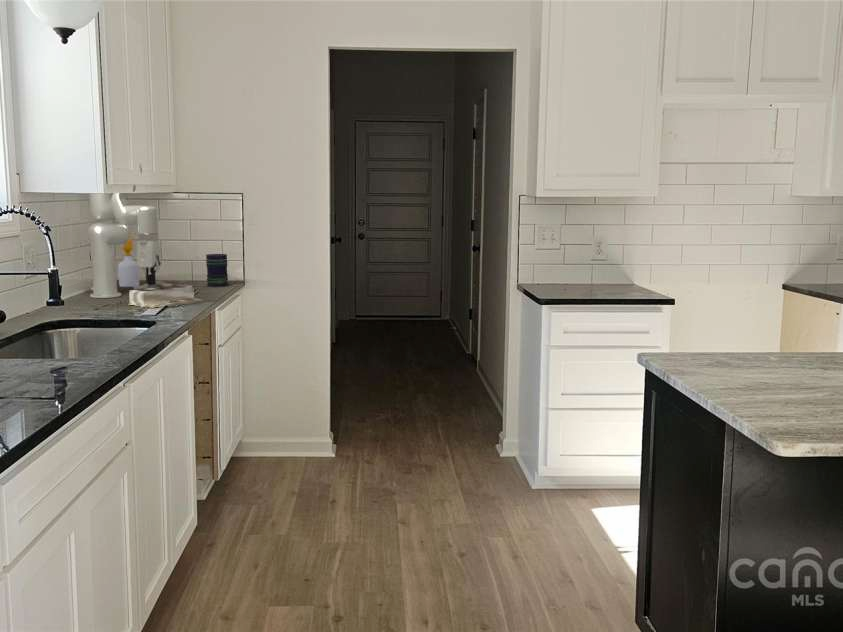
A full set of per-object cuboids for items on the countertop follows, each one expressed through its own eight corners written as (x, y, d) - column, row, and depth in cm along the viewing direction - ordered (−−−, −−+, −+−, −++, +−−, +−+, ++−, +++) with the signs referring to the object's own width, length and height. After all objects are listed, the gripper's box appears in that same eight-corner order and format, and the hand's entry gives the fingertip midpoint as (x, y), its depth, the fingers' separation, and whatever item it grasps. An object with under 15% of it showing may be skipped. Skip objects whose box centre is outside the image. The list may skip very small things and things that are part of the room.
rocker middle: (150, 284, 349) (150, 280, 349) (159, 283, 353) (159, 279, 352) (163, 289, 344) (164, 285, 344) (173, 288, 348) (173, 284, 347)
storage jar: (232, 285, 410) (231, 254, 408) (215, 287, 402) (214, 255, 400) (219, 284, 416) (218, 253, 414) (202, 286, 409) (201, 254, 407)
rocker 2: (167, 285, 356) (166, 282, 356) (176, 284, 359) (175, 281, 359) (180, 283, 350) (180, 280, 350) (189, 282, 354) (188, 279, 353)
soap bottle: (138, 284, 415) (135, 233, 411) (140, 286, 407) (137, 234, 403) (118, 285, 411) (115, 234, 408) (120, 287, 403) (117, 235, 399)
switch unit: (128, 305, 343) (127, 290, 342) (180, 299, 362) (179, 284, 361) (151, 308, 334) (150, 293, 333) (203, 301, 353) (202, 287, 352)
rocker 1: (133, 289, 343) (133, 286, 343) (143, 288, 347) (142, 285, 347) (146, 287, 338) (146, 284, 338) (156, 286, 341) (155, 283, 341)
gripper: (129, 237, 338) (131, 284, 341) (151, 238, 329) (154, 286, 332) (145, 237, 344) (147, 282, 347) (168, 238, 335) (170, 284, 338)
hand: (151, 284), depth 339 cm, fingers closed
